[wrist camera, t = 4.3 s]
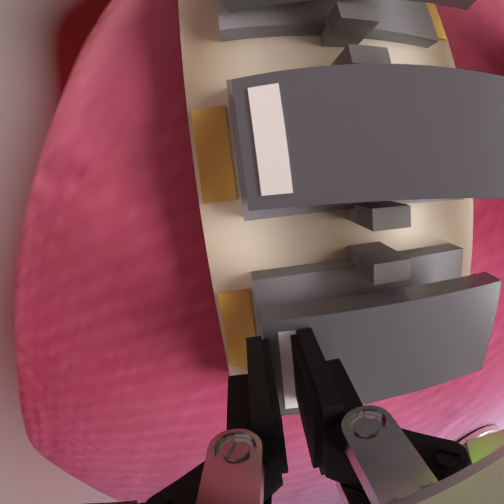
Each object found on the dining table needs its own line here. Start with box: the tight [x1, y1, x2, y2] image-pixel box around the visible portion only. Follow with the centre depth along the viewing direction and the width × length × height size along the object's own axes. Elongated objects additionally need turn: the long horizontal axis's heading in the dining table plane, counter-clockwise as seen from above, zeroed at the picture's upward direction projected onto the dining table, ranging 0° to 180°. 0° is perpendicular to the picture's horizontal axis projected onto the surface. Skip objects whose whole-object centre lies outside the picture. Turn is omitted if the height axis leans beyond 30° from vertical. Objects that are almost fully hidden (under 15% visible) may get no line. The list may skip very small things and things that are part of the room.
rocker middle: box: [232, 64, 504, 211], centre depth 8 cm, size 10×4×1 cm, turn 97°
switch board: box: [178, 0, 473, 404], centre depth 11 cm, size 14×24×5 cm, turn 7°
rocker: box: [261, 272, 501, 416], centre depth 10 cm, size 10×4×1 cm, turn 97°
